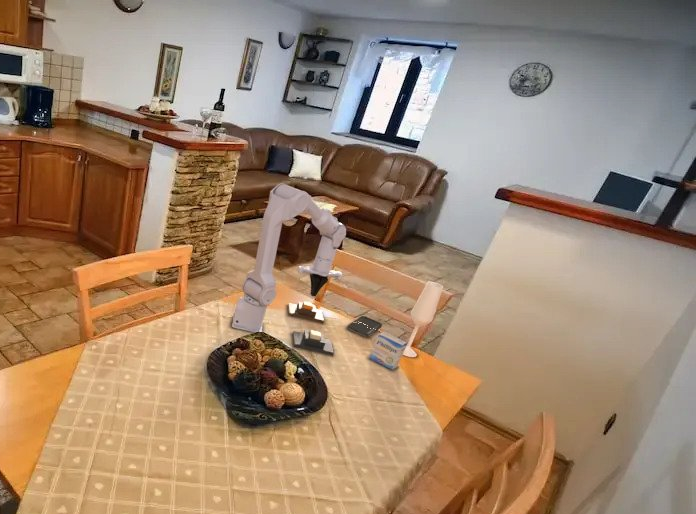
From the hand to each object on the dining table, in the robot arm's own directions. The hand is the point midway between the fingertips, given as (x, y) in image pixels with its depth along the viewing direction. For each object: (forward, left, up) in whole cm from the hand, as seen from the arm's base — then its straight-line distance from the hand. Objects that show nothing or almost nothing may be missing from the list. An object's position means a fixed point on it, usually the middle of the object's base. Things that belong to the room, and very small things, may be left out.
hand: (312, 295), depth 170 cm
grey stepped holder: (+1, -21, -9) cm, 22 cm away
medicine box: (+23, -22, -9) cm, 33 cm away
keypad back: (0, +2, -9) cm, 9 cm away
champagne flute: (+33, -10, -9) cm, 35 cm away
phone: (+21, +2, -9) cm, 23 cm away
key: (+1, -21, -6) cm, 21 cm away
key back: (0, +2, -6) cm, 6 cm away
